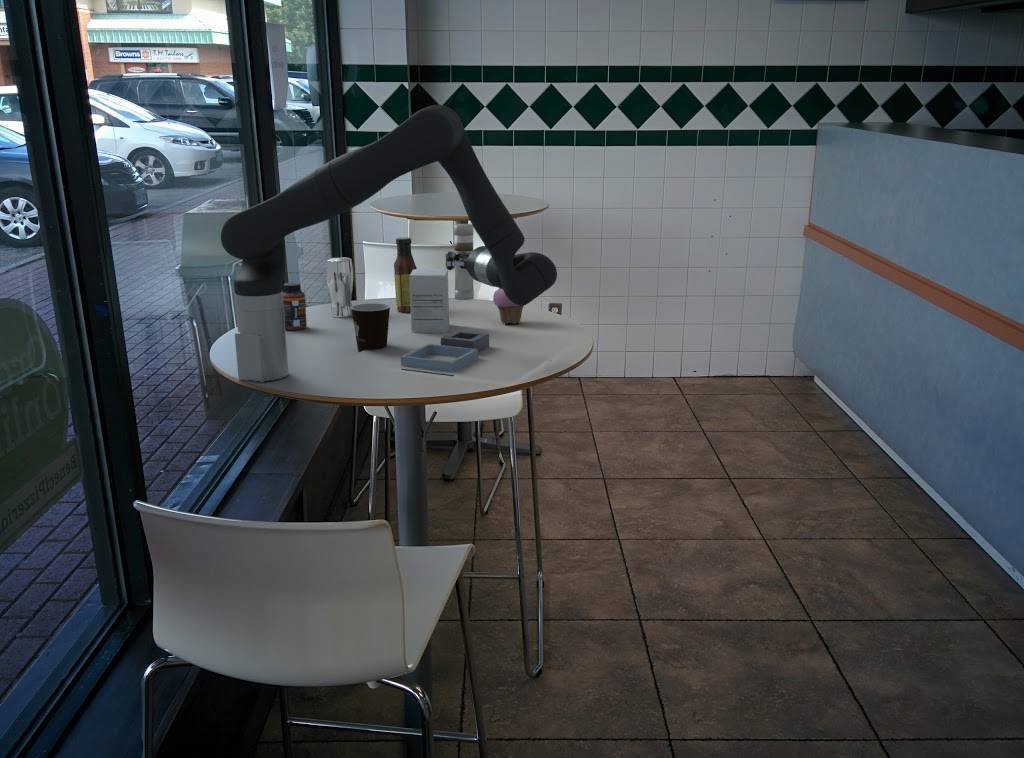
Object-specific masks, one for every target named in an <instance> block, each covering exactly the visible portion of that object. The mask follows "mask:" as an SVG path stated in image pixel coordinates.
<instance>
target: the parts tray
mask: <svg viewBox="0 0 1024 758" xmlns="http://www.w3.org/2000/svg"><path fill="white" fill-rule="evenodd" d="M429 355H438V356H446V357H456V358H454V359H452V360H451V361H450V360H443V359H436V358H425V357H426V356H429ZM477 359H479V352H478V349H471V348H462V347H453V346H444V345H441V344H431V343H427V344H425V345H423V346H421V347H418V348H416V349H414V350H412V351H410V352H408V353H406V354H403V355H401V356H400V366H402V367H408V368H419V369H427V370H428V369H429V370H432V371H434V370H435V371H440V372H441V371H442V372H450V373H453V372H455V371H457V370H459V369H461V368H463V367H464V366H466V365H468V364H469V363H471V362H472V363H473V362H474V361H475V360H477ZM400 370H401V371H406V372H413V373H414V372H416V373H422V374H430V375H436V376H437V375H438V376H439V375H440V376H447V377H454V376H455V374H448V373H440V372H439V373H438V372H431V371H423V370H415V369H407V368H401V369H400Z"/></svg>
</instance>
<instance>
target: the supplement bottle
mask: <svg viewBox="0 0 1024 758" xmlns="http://www.w3.org/2000/svg"><path fill="white" fill-rule="evenodd" d="M301 286H302V285H301V283H300V282H286V283H283V290H284V291H283V303H284V318H285V331H301V329H302V330H305V329H306V328H307V325H308V324H307V310H306V309H307V308H306V305H307V304H306V294H305V292H304V291H302V288H301ZM304 328H305V329H304Z"/></svg>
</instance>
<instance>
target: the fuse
mask: <svg viewBox="0 0 1024 758" xmlns="http://www.w3.org/2000/svg"><path fill="white" fill-rule="evenodd" d="M453 235H454V238H453V239H454V241H453V243H454V244H453V245H454V246H453V247H454V253H460V252H466V253H471V252H472V251H473V250H474V227H473V225H472V223H455V224H453ZM474 299H475V290H474V279H473V278H472V277H471V276H470V275H469V273H468V271H466V270H464V269H459V268H458V266H455V268H454V300H458V301H471V300H474Z"/></svg>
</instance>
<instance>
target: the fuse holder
mask: <svg viewBox="0 0 1024 758" xmlns="http://www.w3.org/2000/svg"><path fill="white" fill-rule="evenodd" d="M440 345H444V346H453V347H462V348H471V349H478V353H480V352H482V351H484V350H486V349H488V348H490V333H487V332H477V331H476V332H475V331H468V330H454V331H452V332H451V333H448V334H446V335H444V336H441V337H440Z"/></svg>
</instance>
